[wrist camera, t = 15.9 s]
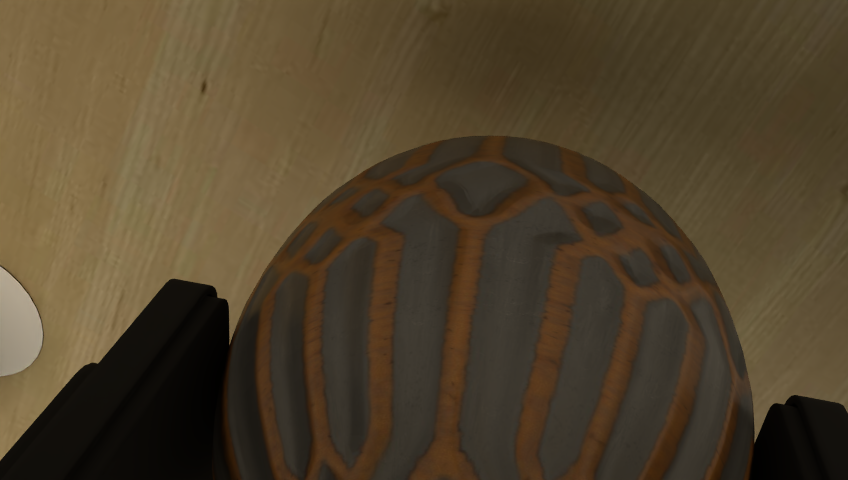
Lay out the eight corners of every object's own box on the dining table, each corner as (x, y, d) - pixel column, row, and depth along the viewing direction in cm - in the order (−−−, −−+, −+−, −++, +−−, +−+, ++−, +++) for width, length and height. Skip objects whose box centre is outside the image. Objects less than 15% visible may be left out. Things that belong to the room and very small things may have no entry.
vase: (770, 351, 14) (991, 993, 7) (434, 460, 17) (313, 1013, 9) (601, -4, 12) (638, 364, 4) (238, 188, 14) (-140, 629, 7)
